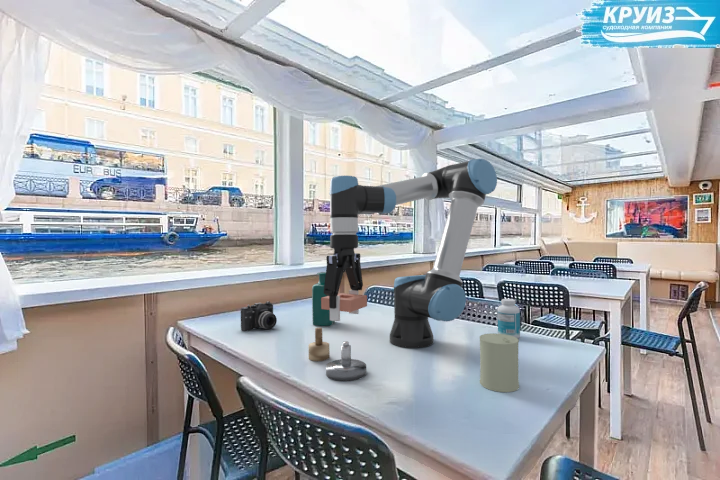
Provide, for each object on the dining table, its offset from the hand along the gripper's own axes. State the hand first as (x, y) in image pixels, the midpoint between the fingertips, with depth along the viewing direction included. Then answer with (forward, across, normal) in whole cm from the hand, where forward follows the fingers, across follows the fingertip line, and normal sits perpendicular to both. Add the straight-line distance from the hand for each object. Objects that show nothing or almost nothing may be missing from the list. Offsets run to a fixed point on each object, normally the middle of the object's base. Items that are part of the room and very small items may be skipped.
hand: (344, 316), depth 99 cm
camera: (+16, -25, -56) cm, 63 cm away
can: (+15, -12, +38) cm, 43 cm away
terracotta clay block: (-3, 0, 0) cm, 3 cm away
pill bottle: (+15, -56, +35) cm, 68 cm away
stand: (+15, -7, -14) cm, 22 cm away
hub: (+15, 0, 0) cm, 15 cm away
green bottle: (+15, -43, -36) cm, 59 cm away
